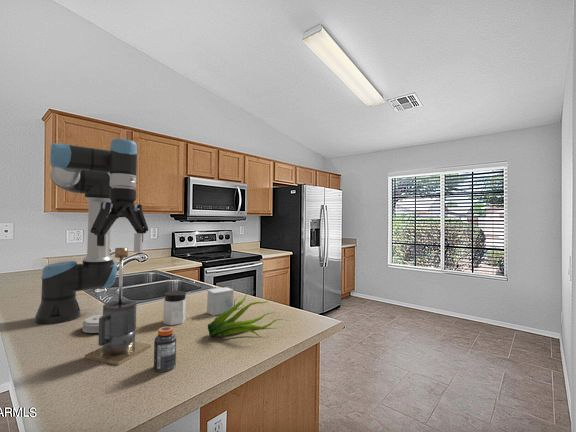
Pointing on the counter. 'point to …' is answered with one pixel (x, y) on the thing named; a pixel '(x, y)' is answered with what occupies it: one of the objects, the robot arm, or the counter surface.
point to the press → (117, 334)
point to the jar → (174, 308)
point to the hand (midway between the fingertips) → (121, 254)
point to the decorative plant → (230, 326)
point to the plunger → (121, 268)
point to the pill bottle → (165, 350)
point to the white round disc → (91, 324)
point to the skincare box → (219, 300)
